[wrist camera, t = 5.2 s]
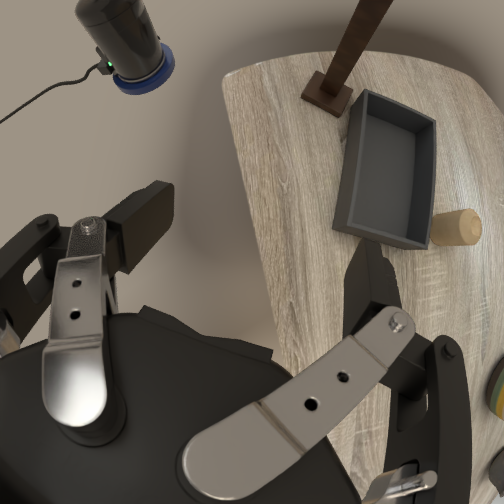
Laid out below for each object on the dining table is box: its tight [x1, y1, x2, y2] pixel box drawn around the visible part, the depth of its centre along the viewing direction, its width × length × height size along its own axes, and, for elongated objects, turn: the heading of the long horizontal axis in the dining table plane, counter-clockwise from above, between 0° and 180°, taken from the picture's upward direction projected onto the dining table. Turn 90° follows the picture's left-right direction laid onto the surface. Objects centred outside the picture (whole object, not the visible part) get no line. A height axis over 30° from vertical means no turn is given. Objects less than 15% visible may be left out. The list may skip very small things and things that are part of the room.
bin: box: [332, 89, 436, 250], centre depth 37 cm, size 13×21×7 cm, turn 167°
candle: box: [430, 209, 482, 246], centre depth 36 cm, size 6×6×10 cm
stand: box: [301, 0, 393, 118], centre depth 24 cm, size 7×7×32 cm
